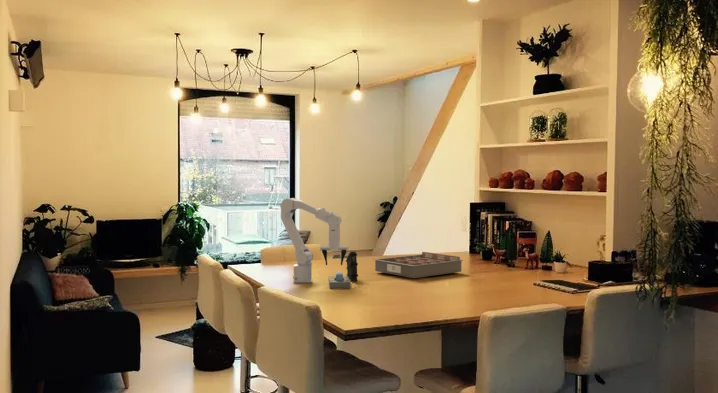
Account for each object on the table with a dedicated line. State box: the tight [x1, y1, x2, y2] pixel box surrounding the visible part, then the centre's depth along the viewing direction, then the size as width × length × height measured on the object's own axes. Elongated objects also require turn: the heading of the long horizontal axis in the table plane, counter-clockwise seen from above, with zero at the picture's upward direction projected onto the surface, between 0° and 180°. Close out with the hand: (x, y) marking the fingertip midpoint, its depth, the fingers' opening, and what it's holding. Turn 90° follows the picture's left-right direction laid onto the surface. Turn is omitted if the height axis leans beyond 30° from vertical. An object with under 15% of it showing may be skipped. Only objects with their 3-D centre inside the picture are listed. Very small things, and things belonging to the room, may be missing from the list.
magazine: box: [345, 251, 359, 282], centre depth 321 cm, size 4×13×15 cm, turn 14°
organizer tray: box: [373, 251, 464, 279], centre depth 345 cm, size 32×40×10 cm
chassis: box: [328, 275, 351, 290], centre depth 304 cm, size 10×18×3 cm, turn 4°
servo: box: [335, 271, 344, 281], centre depth 304 cm, size 3×10×6 cm, turn 4°
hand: (334, 264), depth 310 cm, fingers open, 7 cm apart
